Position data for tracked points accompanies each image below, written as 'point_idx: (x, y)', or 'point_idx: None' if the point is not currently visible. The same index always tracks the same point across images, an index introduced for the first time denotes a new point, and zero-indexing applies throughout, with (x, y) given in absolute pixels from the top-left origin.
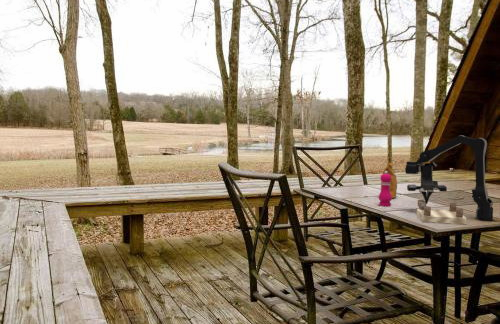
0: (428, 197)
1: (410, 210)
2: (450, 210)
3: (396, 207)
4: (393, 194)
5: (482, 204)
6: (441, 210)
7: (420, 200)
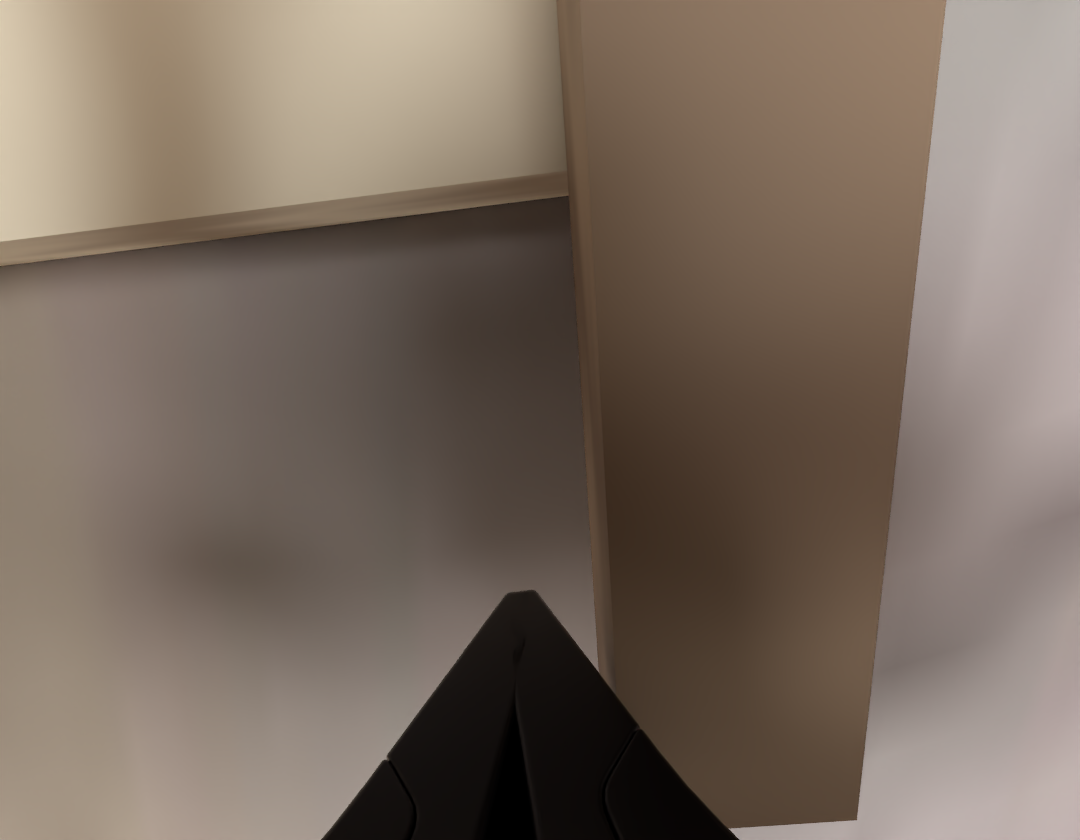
0: (407, 799)
1: None
2: None
3: (1077, 768)
4: None
5: None
6: (16, 39)
7: (776, 671)
